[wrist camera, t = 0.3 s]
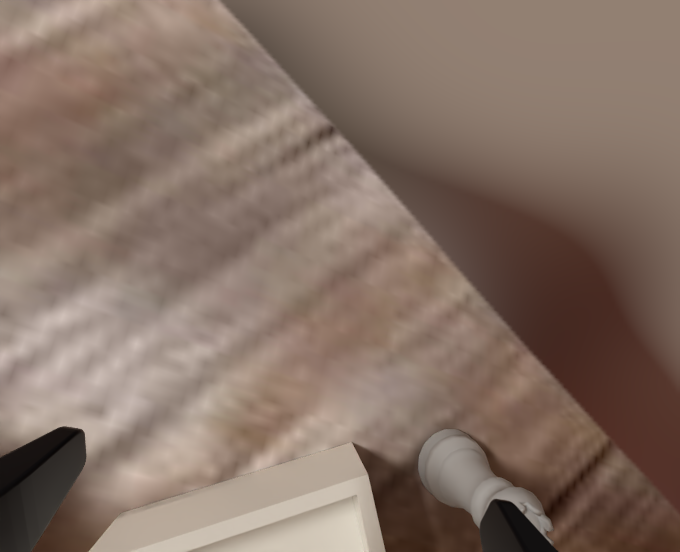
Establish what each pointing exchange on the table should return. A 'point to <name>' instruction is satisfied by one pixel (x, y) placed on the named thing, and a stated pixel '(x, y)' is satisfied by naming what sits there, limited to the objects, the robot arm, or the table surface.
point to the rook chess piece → (472, 479)
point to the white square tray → (261, 512)
